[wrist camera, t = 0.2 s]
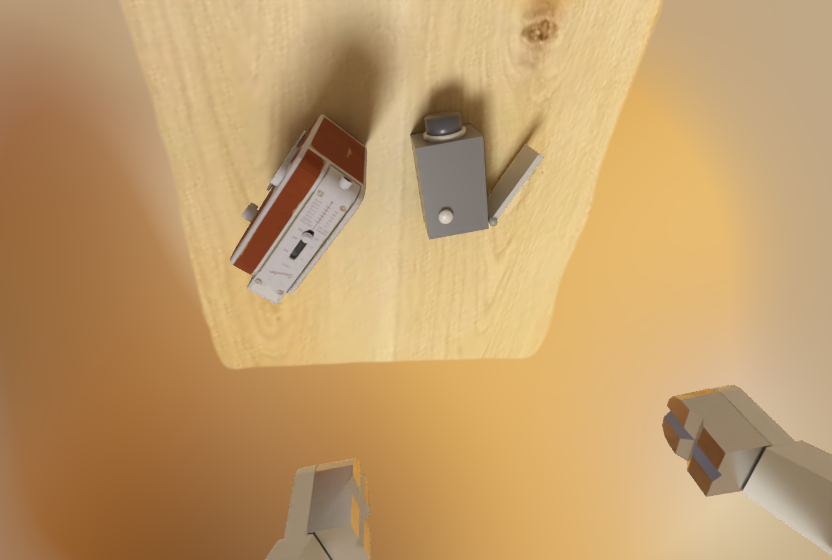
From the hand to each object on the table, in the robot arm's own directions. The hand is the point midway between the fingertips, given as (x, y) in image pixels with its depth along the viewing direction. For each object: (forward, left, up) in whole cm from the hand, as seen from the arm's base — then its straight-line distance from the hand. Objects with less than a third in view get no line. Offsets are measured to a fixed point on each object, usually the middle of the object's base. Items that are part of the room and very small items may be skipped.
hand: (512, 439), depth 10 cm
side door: (+11, +13, -47) cm, 50 cm away
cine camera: (+7, -14, -48) cm, 50 cm away
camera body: (+8, +5, -47) cm, 48 cm away
